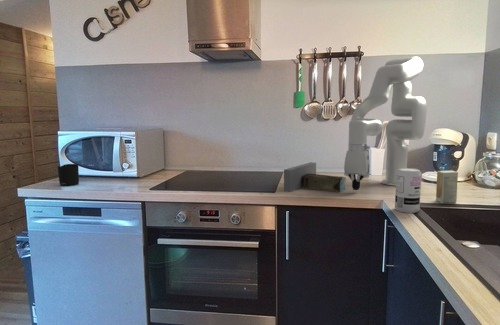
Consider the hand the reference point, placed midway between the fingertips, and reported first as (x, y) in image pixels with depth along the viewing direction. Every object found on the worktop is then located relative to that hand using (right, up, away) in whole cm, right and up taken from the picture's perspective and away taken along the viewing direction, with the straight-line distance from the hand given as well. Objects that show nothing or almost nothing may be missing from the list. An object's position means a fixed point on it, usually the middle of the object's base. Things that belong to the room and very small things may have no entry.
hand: (355, 189), depth 159 cm
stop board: (-22, 0, +15) cm, 27 cm away
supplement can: (+10, -6, -28) cm, 30 cm away
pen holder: (-138, 0, +24) cm, 140 cm away
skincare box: (+31, -4, -15) cm, 35 cm away
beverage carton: (-12, -1, +10) cm, 16 cm away
